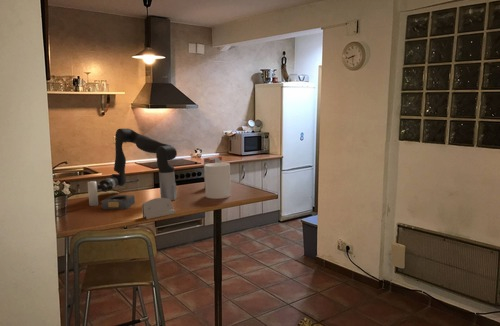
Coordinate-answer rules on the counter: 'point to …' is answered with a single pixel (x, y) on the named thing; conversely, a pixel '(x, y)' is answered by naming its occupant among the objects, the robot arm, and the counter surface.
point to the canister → (217, 180)
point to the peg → (92, 193)
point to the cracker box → (212, 161)
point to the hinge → (157, 208)
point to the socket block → (118, 202)
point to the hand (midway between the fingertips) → (95, 189)
